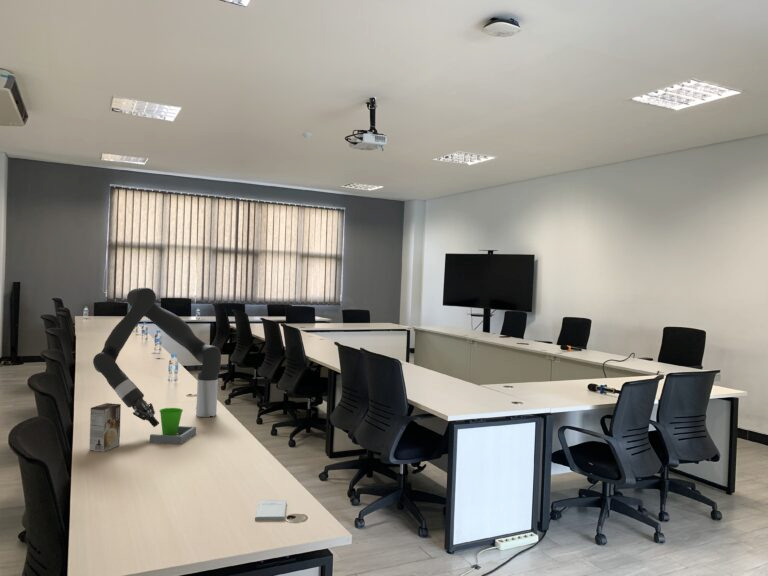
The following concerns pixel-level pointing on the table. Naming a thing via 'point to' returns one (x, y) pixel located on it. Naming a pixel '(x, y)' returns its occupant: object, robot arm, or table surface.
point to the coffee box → (105, 427)
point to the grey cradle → (173, 439)
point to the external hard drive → (271, 510)
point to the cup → (170, 420)
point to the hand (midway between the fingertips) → (156, 425)
